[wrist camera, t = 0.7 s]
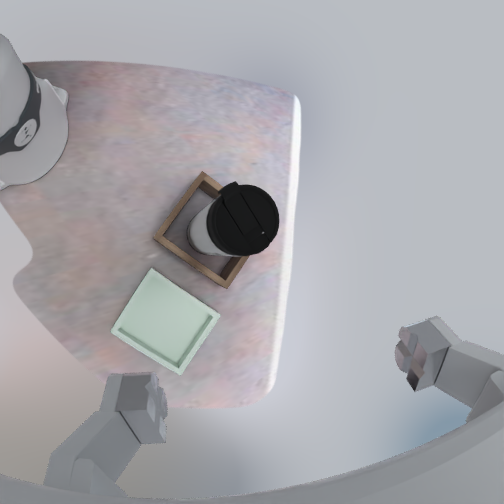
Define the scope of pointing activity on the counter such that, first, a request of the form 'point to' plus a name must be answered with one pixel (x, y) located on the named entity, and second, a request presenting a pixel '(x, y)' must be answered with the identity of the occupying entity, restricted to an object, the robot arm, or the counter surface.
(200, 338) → the dock
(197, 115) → the counter surface
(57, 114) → the robot arm
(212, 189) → the square wooden frame
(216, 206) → the travel mug
